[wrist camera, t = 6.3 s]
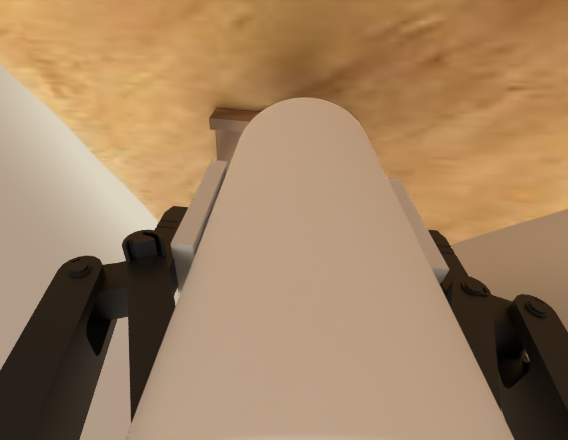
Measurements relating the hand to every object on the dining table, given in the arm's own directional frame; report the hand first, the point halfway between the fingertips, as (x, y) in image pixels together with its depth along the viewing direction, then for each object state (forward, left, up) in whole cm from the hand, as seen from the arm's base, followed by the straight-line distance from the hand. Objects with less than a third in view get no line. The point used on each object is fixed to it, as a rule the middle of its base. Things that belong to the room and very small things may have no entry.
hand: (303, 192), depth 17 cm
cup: (0, 0, -3) cm, 3 cm away
